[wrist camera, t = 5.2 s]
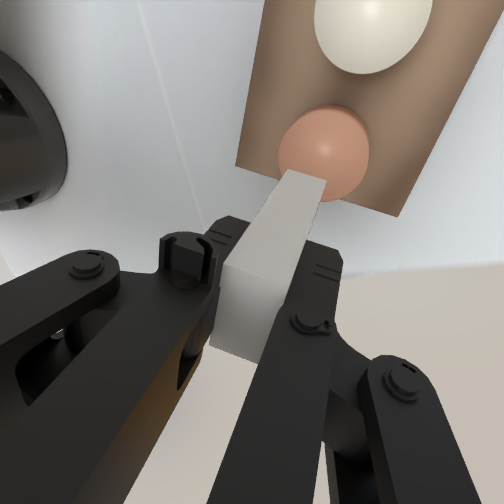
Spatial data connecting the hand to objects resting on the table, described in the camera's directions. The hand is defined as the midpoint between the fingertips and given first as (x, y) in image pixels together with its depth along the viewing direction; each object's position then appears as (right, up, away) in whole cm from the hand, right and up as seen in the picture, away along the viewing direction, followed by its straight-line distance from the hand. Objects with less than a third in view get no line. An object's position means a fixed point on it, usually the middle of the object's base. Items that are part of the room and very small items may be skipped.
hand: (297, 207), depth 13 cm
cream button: (+4, +10, +4) cm, 12 cm away
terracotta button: (+3, +5, +8) cm, 10 cm away
